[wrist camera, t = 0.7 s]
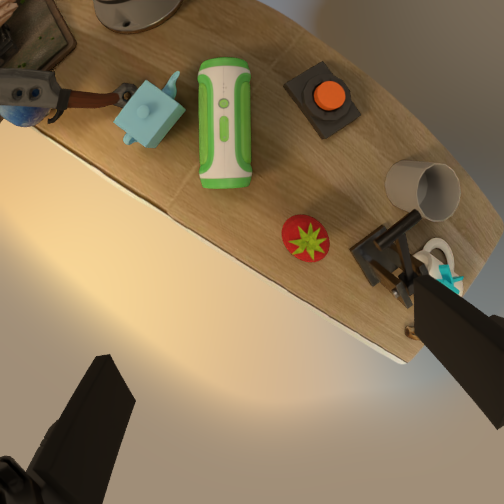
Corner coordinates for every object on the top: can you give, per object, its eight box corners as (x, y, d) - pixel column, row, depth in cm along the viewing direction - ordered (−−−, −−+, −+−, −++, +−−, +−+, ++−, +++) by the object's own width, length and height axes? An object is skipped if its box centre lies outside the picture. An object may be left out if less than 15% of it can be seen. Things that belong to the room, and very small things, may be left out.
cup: (429, 203, 49) (463, 214, 39) (390, 215, 49) (421, 229, 39) (420, 155, 46) (455, 158, 37) (380, 165, 47) (411, 169, 37)
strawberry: (302, 258, 50) (317, 282, 41) (268, 227, 49) (275, 245, 39) (328, 231, 49) (348, 250, 40) (294, 199, 48) (309, 210, 38)
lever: (369, 235, 32) (382, 249, 30) (410, 203, 31) (424, 215, 30) (390, 293, 42) (399, 304, 40) (421, 268, 41) (431, 279, 39)
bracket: (348, 249, 50) (384, 280, 37) (381, 224, 49) (425, 248, 36) (370, 284, 52) (406, 322, 39) (401, 260, 52) (443, 291, 38)
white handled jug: (470, 316, 44) (432, 290, 42) (436, 312, 53) (396, 288, 51) (485, 255, 46) (450, 222, 44) (452, 258, 55) (415, 229, 53)
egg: (83, 94, 41) (19, 49, 30) (60, 130, 38) (-11, 82, 27) (61, 120, 46) (3, 80, 35) (41, 155, 42) (-23, 114, 31)
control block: (282, 86, 42) (287, 80, 39) (319, 64, 42) (326, 57, 38) (321, 139, 45) (329, 138, 41) (356, 116, 44) (366, 113, 40)
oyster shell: (425, 311, 52) (453, 324, 54) (413, 306, 55) (442, 319, 57) (411, 341, 52) (441, 351, 54) (400, 334, 56) (430, 344, 58)
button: (308, 92, 40) (311, 89, 38) (329, 79, 39) (334, 76, 37) (324, 115, 41) (328, 113, 39) (346, 101, 40) (350, 99, 38)
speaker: (200, 71, 41) (194, 56, 34) (249, 69, 41) (252, 54, 34) (202, 185, 46) (196, 190, 39) (251, 183, 47) (254, 188, 39)
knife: (128, 139, 43) (-50, 127, 26) (126, 136, 45) (-45, 125, 27) (143, 84, 40) (-40, 68, 22) (141, 83, 41) (-36, 68, 24)
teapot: (171, 71, 41) (160, 57, 33) (201, 93, 42) (195, 82, 35) (122, 133, 43) (103, 130, 36) (151, 156, 44) (136, 156, 37)
